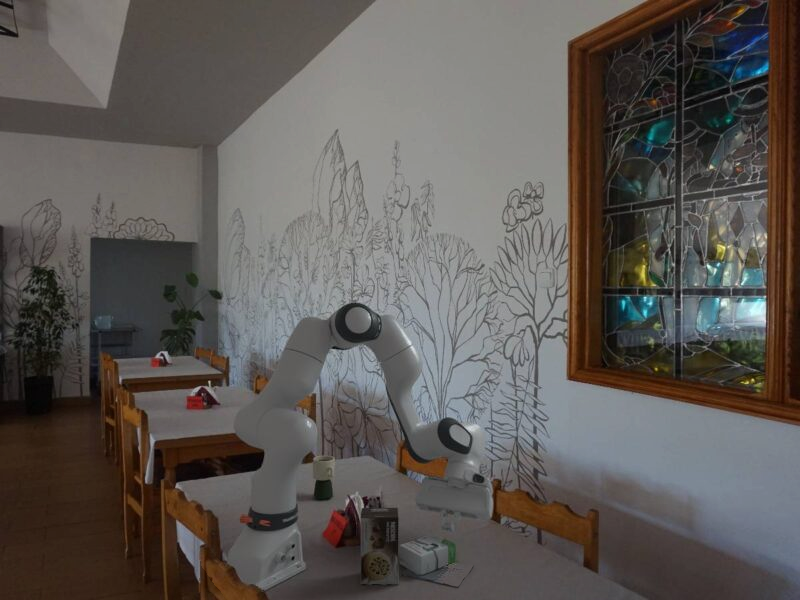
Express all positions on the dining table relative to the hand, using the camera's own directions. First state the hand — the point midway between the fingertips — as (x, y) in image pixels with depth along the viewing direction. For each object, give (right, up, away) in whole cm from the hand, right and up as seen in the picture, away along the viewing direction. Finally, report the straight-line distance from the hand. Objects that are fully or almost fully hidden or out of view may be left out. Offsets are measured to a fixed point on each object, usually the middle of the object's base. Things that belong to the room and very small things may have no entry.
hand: (446, 529), depth 158 cm
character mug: (-37, -7, +46) cm, 59 cm away
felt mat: (-2, -8, -5) cm, 10 cm away
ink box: (0, -5, +2) cm, 6 cm away
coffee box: (-17, -9, -9) cm, 21 cm away
